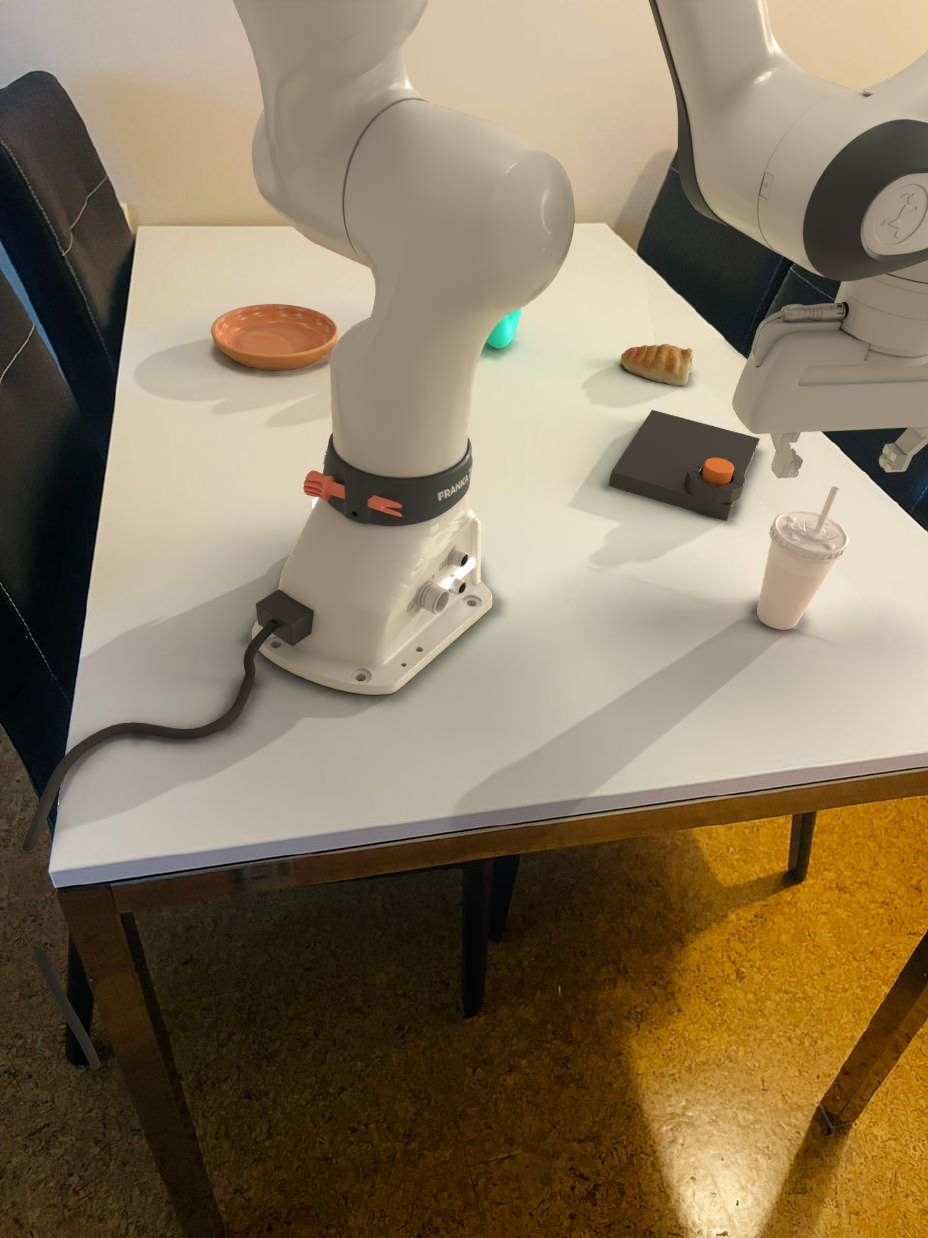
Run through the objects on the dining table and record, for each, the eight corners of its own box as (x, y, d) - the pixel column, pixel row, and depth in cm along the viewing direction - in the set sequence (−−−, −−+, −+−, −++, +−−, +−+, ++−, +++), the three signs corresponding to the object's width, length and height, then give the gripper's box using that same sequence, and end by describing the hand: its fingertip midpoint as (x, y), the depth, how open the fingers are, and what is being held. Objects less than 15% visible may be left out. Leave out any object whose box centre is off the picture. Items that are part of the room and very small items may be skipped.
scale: (729, 524, 92) (738, 496, 90) (607, 488, 96) (612, 460, 94) (759, 453, 104) (768, 426, 101) (648, 423, 107) (654, 397, 105)
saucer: (349, 330, 122) (348, 309, 120) (323, 383, 110) (322, 360, 108) (234, 318, 122) (232, 297, 120) (196, 370, 110) (193, 347, 108)
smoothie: (815, 645, 79) (873, 515, 70) (742, 632, 80) (790, 502, 70) (809, 600, 84) (862, 473, 74) (740, 588, 84) (785, 461, 75)
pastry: (615, 376, 117) (621, 348, 114) (623, 355, 122) (628, 328, 119) (687, 389, 115) (694, 361, 112) (691, 368, 120) (698, 341, 117)
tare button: (726, 488, 92) (730, 475, 91) (698, 480, 92) (702, 467, 91) (733, 475, 94) (736, 462, 93) (705, 467, 95) (708, 454, 94)
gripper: (785, 325, 58) (731, 500, 67) (1059, 318, 61) (972, 486, 71) (746, 286, 63) (701, 456, 72) (1003, 282, 66) (928, 444, 75)
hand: (837, 471), depth 71 cm, fingers open, 8 cm apart
